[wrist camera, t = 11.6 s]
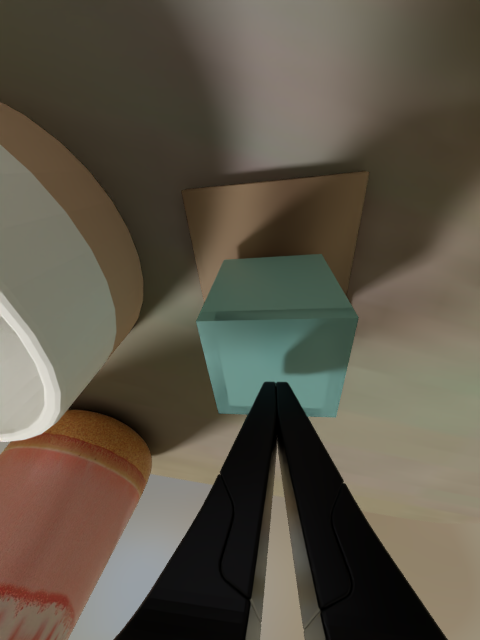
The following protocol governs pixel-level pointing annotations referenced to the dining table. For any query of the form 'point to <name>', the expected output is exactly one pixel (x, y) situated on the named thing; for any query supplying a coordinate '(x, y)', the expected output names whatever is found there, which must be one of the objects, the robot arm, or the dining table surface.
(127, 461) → the vase
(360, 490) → the dining table surface
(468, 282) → the dining table surface
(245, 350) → the teal tilted box
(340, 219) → the post block
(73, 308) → the bowl
